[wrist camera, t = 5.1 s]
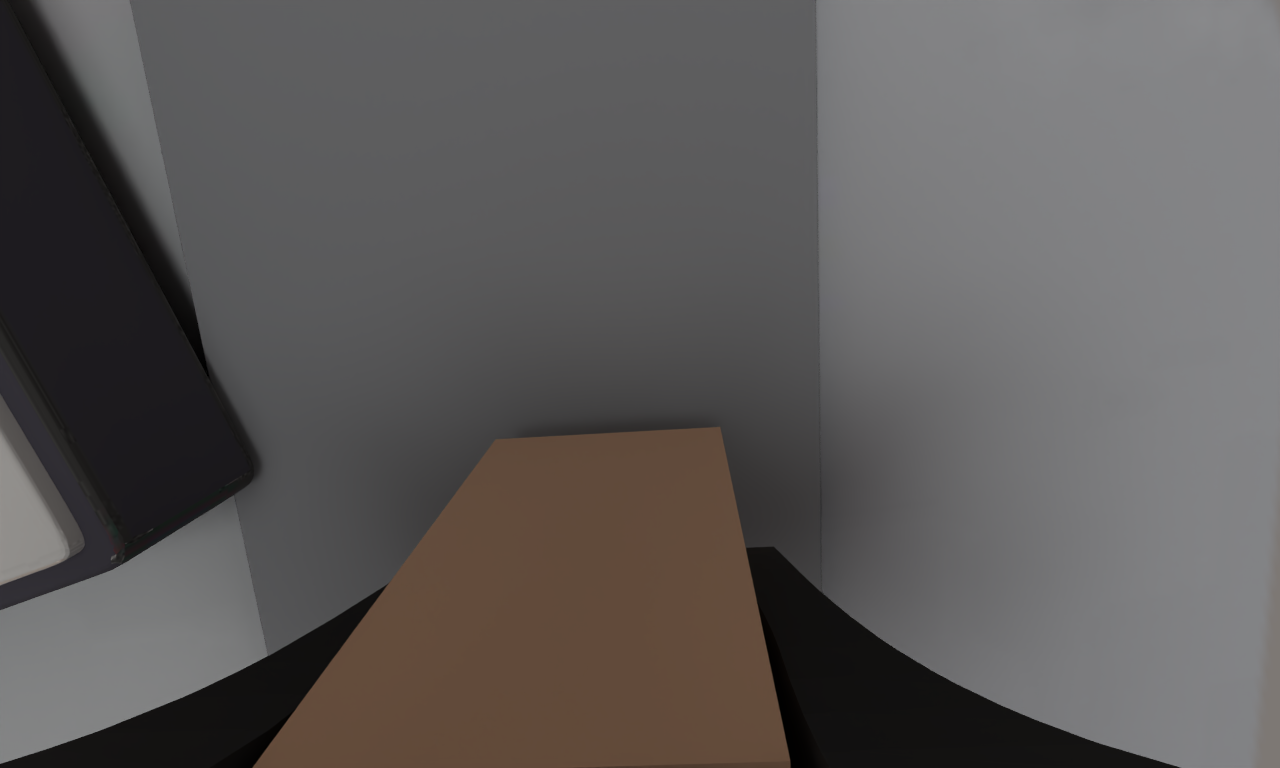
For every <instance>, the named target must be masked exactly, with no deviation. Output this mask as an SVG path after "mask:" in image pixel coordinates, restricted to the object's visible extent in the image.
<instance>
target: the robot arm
mask: <svg viewBox="0 0 1280 768" xmlns="http://www.w3.org/2000/svg"><path fill="white" fill-rule="evenodd" d="M746 552H747V557H748V562H749V566H750V571H751V576H752V581H753V586H754V590H755V595H756V600H757V605H758V609H759V614H760V619H761V624H762V628H763V633H764V638H765V643H766V647H767V652H768V657H769V662H770V667H771V671H772V676H773V681H774V686H775V690H776V695H777V700H778V705H779V709H780V714H781V719H782V724H783V728H784V733H785V738H786V743H787V748H788V752H789V757H790V766H791V768H1180V767H1177V766H1173V765H1170V764H1166V763H1163V762H1160V761H1156V760H1153V759H1150V758H1146V757H1143V756H1139V755H1136V754H1133V753H1129V752H1126V751H1123V750H1119V749H1116V748H1112V747H1109V746H1106V745H1102V744H1099V743H1096V742H1093V741H1090V740H1088V739H1085V738H1082V737H1079V736H1077V735H1074V734H1071V733H1069V732H1066V731H1063V730H1061V729H1058V728H1055V727H1053V726H1050V725H1047V724H1045V723H1042V722H1039V721H1037V720H1034V719H1032V718H1029V717H1027V716H1025V715H1022V714H1020V713H1018V712H1015V711H1013V710H1010V709H1008V708H1006V707H1003V706H1001V705H999V704H997V703H995V702H993V701H990V700H988V699H986V698H984V697H982V696H980V695H978V694H976V693H974V692H972V691H970V690H968V689H966V688H963V687H961V686H959V685H957V684H955V683H953V682H951V681H950V680H948V679H946V678H944V677H942V676H940V675H938V674H937V673H935V672H933V671H931V670H929V669H928V668H926V667H925V666H923V665H921V664H920V663H918V662H916V661H915V660H913V659H911V658H910V657H908V656H906V655H905V654H903V653H901V652H900V651H898V650H896V649H895V648H893V647H892V646H890V645H889V644H887V643H886V642H884V641H883V640H881V639H880V638H878V637H877V636H876V635H874V634H873V633H872V632H870V631H869V630H868V629H866V628H865V627H864V626H862V625H861V624H860V623H858V622H857V621H856V620H854V619H853V618H851V617H850V616H849V615H848V614H846V613H845V612H844V611H843V610H842V609H840V608H839V607H838V606H837V605H835V604H834V603H833V602H832V601H831V600H830V599H828V598H827V597H826V596H825V595H824V594H823V593H822V592H821V591H819V590H818V589H817V588H816V587H815V586H814V585H813V584H812V583H811V582H810V581H809V580H808V579H807V578H806V577H805V576H804V575H802V574H801V573H800V572H799V571H798V570H797V569H796V568H795V567H794V566H793V565H792V564H791V563H790V562H789V561H788V560H787V559H786V558H785V557H784V556H783V555H782V554H781V553H780V552H779V551H778V550H777V549H776V548H775V547H774V546H773V547H750V548H746ZM388 584H389V583H388ZM388 584H387V585H388ZM387 585H385V586H384V587H382V588H381V589H379V590H377V591H376V592H374V593H373V594H371V595H369V596H368V597H366V598H365V599H363V600H362V601H360V602H358V603H357V604H355V605H354V606H352V607H350V608H349V609H347V610H346V611H344V612H343V613H341V614H339V615H338V616H336V617H335V618H333V619H331V620H330V621H328V622H326V623H324V624H323V625H321V626H319V627H318V628H316V629H314V630H312V631H311V632H309V633H307V634H306V635H304V636H302V637H300V638H299V639H297V640H295V641H293V642H292V643H290V644H288V645H287V646H285V647H283V648H281V649H280V650H278V651H276V652H275V653H273V654H271V655H269V656H267V657H265V658H263V659H262V660H260V661H258V662H256V663H254V664H252V665H250V666H248V667H246V668H244V669H242V670H240V671H238V672H236V673H234V674H232V675H230V676H228V677H226V678H224V679H222V680H220V681H217V682H215V683H213V684H211V685H209V686H207V687H205V688H203V689H201V690H199V691H196V692H194V693H192V694H190V695H187V696H185V697H183V698H180V699H178V700H175V701H173V702H170V703H168V704H166V705H163V706H161V707H158V708H156V709H153V710H151V711H148V712H146V713H143V714H141V715H138V716H136V717H133V718H131V719H128V720H126V721H123V722H121V723H118V724H116V725H113V726H111V727H108V728H106V729H103V730H101V731H98V732H95V733H92V734H90V735H87V736H84V737H81V738H78V739H75V740H72V741H69V742H67V743H64V744H61V745H58V746H55V747H52V748H49V749H46V750H43V751H40V752H37V753H34V754H30V755H27V756H24V757H21V758H18V759H15V760H12V761H8V762H5V763H2V764H0V768H253V766H254V765H255V764H256V762H257V761H258V760H259V758H260V757H261V756H262V754H263V753H264V752H265V750H266V749H267V747H268V746H269V745H270V743H271V742H272V741H273V739H274V738H275V737H276V735H277V734H278V733H279V731H280V730H281V729H282V727H283V726H284V725H285V723H286V722H287V720H288V719H289V718H290V716H291V715H292V714H293V712H294V711H295V710H296V708H297V707H298V706H299V704H300V703H301V702H302V700H303V699H304V698H305V696H306V695H307V693H308V692H309V691H310V689H311V688H312V687H313V685H314V684H315V683H316V681H317V680H318V679H319V677H320V676H321V675H322V673H323V672H324V670H325V669H326V668H327V666H328V665H329V664H330V662H331V661H332V660H333V658H334V657H335V656H336V654H337V653H338V652H339V650H340V649H341V648H342V646H343V645H344V643H345V642H346V641H347V639H348V638H349V637H350V635H351V634H352V633H353V631H354V630H355V629H356V627H357V626H358V625H359V623H360V622H361V620H362V619H363V618H364V616H365V615H366V614H367V612H368V611H369V610H370V608H371V607H372V606H373V604H374V603H375V602H376V600H377V599H378V598H379V596H380V595H381V593H382V592H383V591H384V589H385V588H386V587H387Z"/></svg>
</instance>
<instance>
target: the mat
mask: <svg viewBox="0 0 1280 768" xmlns="http://www.w3.org/2000/svg"><path fill="white" fill-rule="evenodd" d="M130 3H131V8H132V13H133V17H134V22H135V27H136V32H137V36H138V41H139V46H140V51H141V55H142V60H143V65H144V70H145V74H146V79H147V84H148V89H149V93H150V98H151V103H152V107H153V112H154V117H155V122H156V126H157V131H158V136H159V141H160V145H161V150H162V155H163V160H164V164H165V169H166V174H167V179H168V183H169V188H170V193H171V198H172V202H173V207H174V212H175V217H176V221H177V226H178V231H179V236H180V240H181V245H182V250H183V254H184V259H185V264H186V269H187V273H188V278H189V283H190V288H191V292H192V297H193V302H194V307H195V311H196V316H197V321H198V326H199V330H200V335H201V340H202V345H203V349H204V354H205V359H206V364H207V368H208V373H209V378H210V382H211V384H212V386H213V388H214V390H215V391H216V393H217V395H218V397H219V399H220V401H221V403H222V405H223V407H224V408H225V410H226V412H227V414H228V416H229V418H230V420H231V422H232V423H233V425H234V427H235V429H236V431H237V433H238V435H239V437H240V438H241V440H242V442H243V444H244V446H245V448H246V450H247V452H248V454H249V456H250V458H251V460H252V462H253V466H254V476H253V479H252V481H251V482H250V484H249V485H247V486H246V487H245V488H243V489H242V490H240V491H239V492H237V493H236V494H234V496H235V501H236V506H237V511H238V515H239V520H240V525H241V529H242V534H243V539H244V544H245V548H246V553H247V558H248V563H249V567H250V572H251V577H252V582H253V586H254V591H255V596H256V601H257V605H258V610H259V615H260V620H261V624H262V629H263V634H264V639H265V643H266V648H267V653H268V656H269V655H271V654H273V653H275V652H276V651H278V650H280V649H281V648H283V647H285V646H287V645H288V644H290V643H292V642H293V641H295V640H297V639H299V638H300V637H302V636H304V635H306V634H307V633H309V632H311V631H312V630H314V629H316V628H318V627H319V626H321V625H323V624H324V623H326V622H328V621H330V620H331V619H333V618H335V617H336V616H338V615H339V614H341V613H343V612H344V611H346V610H347V609H349V608H350V607H352V606H354V605H355V604H357V603H358V602H360V601H362V600H363V599H365V598H366V597H368V596H369V595H371V594H373V593H374V592H376V591H377V590H379V589H381V588H382V587H384V586H385V585H387V584H388V583H390V581H391V580H392V579H393V577H394V576H395V575H396V573H397V572H398V571H399V569H400V568H401V566H402V565H403V564H404V562H405V561H406V560H407V558H408V557H409V556H410V554H411V553H412V552H413V550H414V549H415V548H416V546H417V545H418V543H419V542H420V541H421V539H422V538H423V537H424V535H425V534H426V533H427V531H428V530H429V529H430V527H431V526H432V525H433V523H434V522H435V521H436V519H437V518H438V516H439V515H440V514H441V512H442V511H443V510H444V508H445V507H446V506H447V504H448V503H449V502H450V500H451V499H452V498H453V496H454V495H455V493H456V492H457V491H458V489H459V488H460V487H461V485H462V484H463V483H464V481H465V480H466V479H467V477H468V476H469V475H470V473H471V472H472V471H473V469H474V468H475V466H476V465H477V464H478V462H479V461H480V460H481V458H482V457H483V456H484V454H485V453H486V452H487V450H488V449H489V448H490V446H491V445H492V443H493V442H494V441H495V439H511V438H529V437H547V436H565V435H583V434H601V433H619V432H637V431H655V430H673V429H691V428H709V427H720V428H721V433H722V438H723V443H724V447H725V452H726V457H727V462H728V466H729V471H730V476H731V481H732V485H733V490H734V495H735V500H736V505H737V509H738V514H739V519H740V524H741V528H742V533H743V538H744V543H745V547H746V548H750V547H773V546H774V547H775V548H776V549H777V550H778V551H779V552H780V553H781V554H782V555H783V556H784V557H785V558H786V559H787V560H788V561H789V562H790V563H791V564H792V565H793V566H794V567H795V568H796V569H797V570H798V571H799V572H800V573H801V574H802V575H804V576H805V577H806V578H807V579H808V580H809V581H810V582H811V583H812V584H813V585H814V586H815V587H816V588H817V589H818V590H819V591H821V491H820V387H819V283H818V178H817V74H816V0H130Z"/></svg>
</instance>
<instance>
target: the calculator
mask: <svg viewBox="0 0 1280 768" xmlns="http://www.w3.org/2000/svg"><path fill="white" fill-rule="evenodd" d="M253 476H254V466H253V462H252V460H251V458H250V456H249V454H248V452H247V450H246V448H245V446H244V444H243V442H242V440H241V438H240V437H239V435H238V433H237V431H236V429H235V427H234V425H233V423H232V422H231V420H230V418H229V416H228V414H227V412H226V410H225V408H224V407H223V405H222V403H221V401H220V399H219V397H218V395H217V393H216V391H215V390H214V388H213V386H212V384H211V382H210V380H209V378H208V376H207V375H206V373H205V371H204V369H203V367H202V365H201V363H200V361H199V360H198V358H197V356H196V354H195V352H194V350H193V348H192V346H191V344H190V343H189V341H188V339H187V337H186V335H185V333H184V331H183V329H182V328H181V326H180V324H179V322H178V320H177V318H176V316H175V314H174V313H173V311H172V309H171V307H170V305H169V303H168V301H167V299H166V297H165V296H164V294H163V292H162V290H161V288H160V286H159V284H158V282H157V281H156V279H155V277H154V275H153V273H152V271H151V269H150V267H149V266H148V264H147V262H146V260H145V258H144V256H143V254H142V252H141V250H140V249H139V247H138V245H137V243H136V241H135V239H134V237H133V235H132V234H131V232H130V230H129V228H128V226H127V224H126V222H125V220H124V219H123V217H122V215H121V213H120V211H119V209H118V207H117V205H116V203H115V202H114V200H113V198H112V196H111V194H110V192H109V190H108V188H107V187H106V185H105V183H104V181H103V179H102V177H101V175H100V173H99V172H98V170H97V168H96V166H95V164H94V162H93V160H92V158H91V156H90V155H89V153H88V151H87V149H86V147H85V145H84V143H83V141H82V140H81V138H80V136H79V134H78V132H77V130H76V128H75V126H74V125H73V123H72V121H71V119H70V117H69V115H68V113H67V111H66V109H65V108H64V106H63V104H62V102H61V100H60V98H59V96H58V94H57V93H56V91H55V89H54V87H53V85H52V83H51V81H50V79H49V78H48V76H47V74H46V72H45V70H44V68H43V66H42V64H41V62H40V61H39V59H38V57H37V55H36V53H35V51H34V49H33V47H32V46H31V44H30V42H29V40H28V38H27V36H26V34H25V32H24V31H23V29H22V27H21V25H20V23H19V21H18V19H17V17H16V15H15V14H14V12H13V10H12V8H11V6H10V4H9V2H8V0H0V610H2V609H4V608H7V607H10V606H13V605H16V604H18V603H21V602H24V601H27V600H30V599H32V598H35V597H38V596H41V595H44V594H46V593H49V592H52V591H55V590H58V589H61V588H63V587H66V586H69V585H72V584H75V583H77V582H80V581H83V580H86V579H89V578H91V577H94V576H97V575H100V574H102V573H105V572H107V571H110V570H112V569H114V568H116V567H118V566H120V565H122V564H123V563H125V562H127V561H129V560H130V559H132V558H133V557H135V556H137V555H138V554H140V553H141V552H143V551H145V550H146V549H148V548H149V547H151V546H153V545H154V544H156V543H157V542H159V541H161V540H162V539H164V538H165V537H167V536H169V535H170V534H172V533H174V532H175V531H177V530H178V529H180V528H182V527H183V526H185V525H186V524H188V523H190V522H191V521H193V520H194V519H196V518H198V517H199V516H201V515H202V514H204V513H206V512H207V511H209V510H211V509H212V508H214V507H215V506H217V505H218V504H220V503H222V502H223V501H225V500H226V499H228V498H229V497H231V496H233V495H234V494H236V493H237V492H239V491H240V490H242V489H243V488H245V487H246V486H247V485H249V484H250V482H251V481H252V479H253Z"/></svg>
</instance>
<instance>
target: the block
mask: <svg viewBox="0 0 1280 768" xmlns="http://www.w3.org/2000/svg"><path fill="white" fill-rule="evenodd" d="M253 768H791V766H790V757H789V752H788V748H787V743H786V738H785V733H784V728H783V724H782V719H781V714H780V709H779V705H778V700H777V695H776V690H775V686H774V681H773V676H772V671H771V667H770V662H769V657H768V652H767V647H766V643H765V638H764V633H763V628H762V624H761V619H760V614H759V609H758V605H757V600H756V595H755V590H754V586H753V581H752V576H751V571H750V566H749V562H748V557H747V552H746V547H745V543H744V538H743V533H742V528H741V524H740V519H739V514H738V509H737V505H736V500H735V495H734V490H733V485H732V481H731V476H730V471H729V466H728V462H727V457H726V452H725V447H724V443H723V438H722V433H721V428H720V427H709V428H691V429H673V430H655V431H637V432H619V433H601V434H583V435H565V436H547V437H529V438H511V439H495V441H494V442H493V443H492V445H491V446H490V448H489V449H488V450H487V452H486V453H485V454H484V456H483V457H482V458H481V460H480V461H479V462H478V464H477V465H476V466H475V468H474V469H473V471H472V472H471V473H470V475H469V476H468V477H467V479H466V480H465V481H464V483H463V484H462V485H461V487H460V488H459V489H458V491H457V492H456V493H455V495H454V496H453V498H452V499H451V500H450V502H449V503H448V504H447V506H446V507H445V508H444V510H443V511H442V512H441V514H440V515H439V516H438V518H437V519H436V521H435V522H434V523H433V525H432V526H431V527H430V529H429V530H428V531H427V533H426V534H425V535H424V537H423V538H422V539H421V541H420V542H419V543H418V545H417V546H416V548H415V549H414V550H413V552H412V553H411V554H410V556H409V557H408V558H407V560H406V561H405V562H404V564H403V565H402V566H401V568H400V569H399V571H398V572H397V573H396V575H395V576H394V577H393V579H392V580H391V581H390V583H389V584H388V585H387V587H386V588H385V589H384V591H383V592H382V593H381V595H380V596H379V598H378V599H377V600H376V602H375V603H374V604H373V606H372V607H371V608H370V610H369V611H368V612H367V614H366V615H365V616H364V618H363V619H362V620H361V622H360V623H359V625H358V626H357V627H356V629H355V630H354V631H353V633H352V634H351V635H350V637H349V638H348V639H347V641H346V642H345V643H344V645H343V646H342V648H341V649H340V650H339V652H338V653H337V654H336V656H335V657H334V658H333V660H332V661H331V662H330V664H329V665H328V666H327V668H326V669H325V670H324V672H323V673H322V675H321V676H320V677H319V679H318V680H317V681H316V683H315V684H314V685H313V687H312V688H311V689H310V691H309V692H308V693H307V695H306V696H305V698H304V699H303V700H302V702H301V703H300V704H299V706H298V707H297V708H296V710H295V711H294V712H293V714H292V715H291V716H290V718H289V719H288V720H287V722H286V723H285V725H284V726H283V727H282V729H281V730H280V731H279V733H278V734H277V735H276V737H275V738H274V739H273V741H272V742H271V743H270V745H269V746H268V747H267V749H266V750H265V752H264V753H263V754H262V756H261V757H260V758H259V760H258V761H257V762H256V764H255V765H254V766H253Z"/></svg>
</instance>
